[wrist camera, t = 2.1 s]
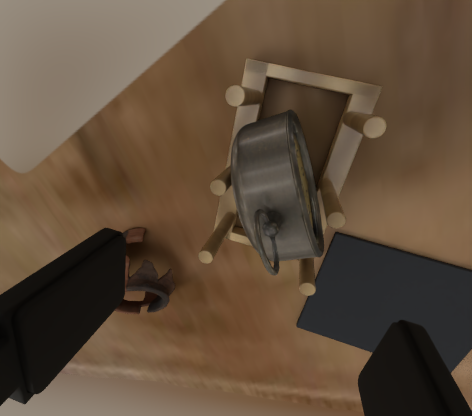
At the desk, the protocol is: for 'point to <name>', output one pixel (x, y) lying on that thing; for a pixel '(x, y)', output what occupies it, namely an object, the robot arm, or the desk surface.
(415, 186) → the desk surface
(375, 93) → the dowel rack
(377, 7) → the desk surface
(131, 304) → the pottery mug
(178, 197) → the desk surface
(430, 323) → the desk mat
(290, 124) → the alarm clock
